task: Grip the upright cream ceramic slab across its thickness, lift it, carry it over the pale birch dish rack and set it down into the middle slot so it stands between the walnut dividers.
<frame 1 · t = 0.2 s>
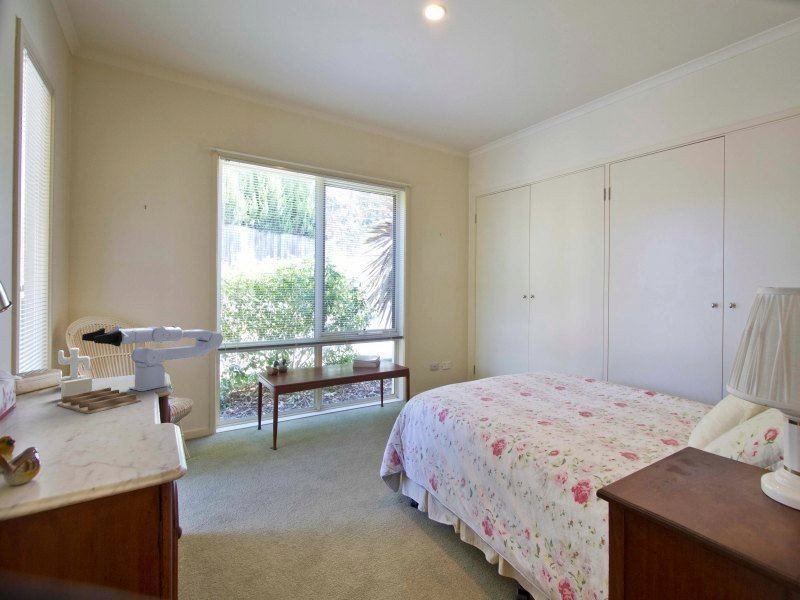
hand: (88, 338, 132), 21 cm above the dresser top, tool horizontal, fingers open, 7 cm apart
cream slab: (76, 396, 137), on the dresser top
figurine: (74, 387, 148), on the dresser top
dish rack: (100, 402, 130), on the dresser top
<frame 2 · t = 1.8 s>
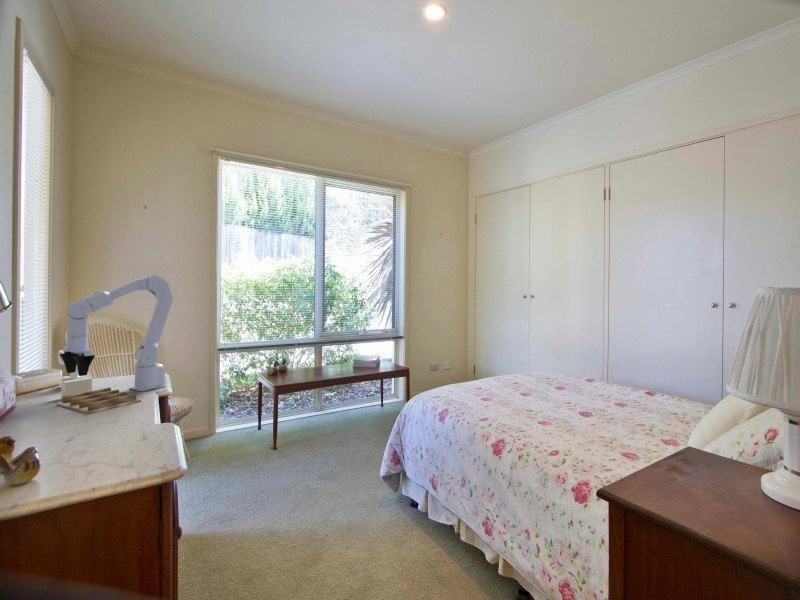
hand: (76, 374, 136), 8 cm above the dresser top, tool pointing down, fingers open, 7 cm apart
nothing on the dresser top moved.
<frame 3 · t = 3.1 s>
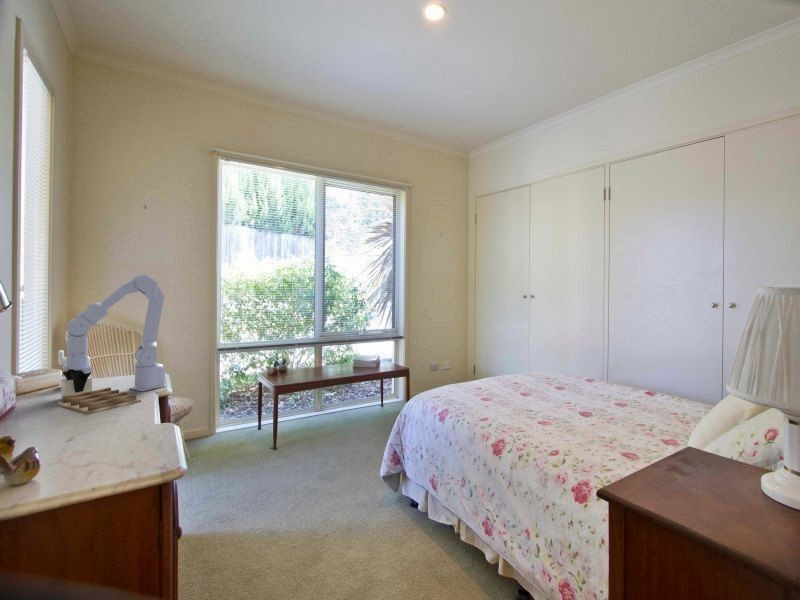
hand: (76, 391, 136), 2 cm above the dresser top, tool pointing down, fingers closed on cream slab, 2 cm apart
cream slab: (76, 396, 137), on the dresser top, touching gripper
everything else where it was.
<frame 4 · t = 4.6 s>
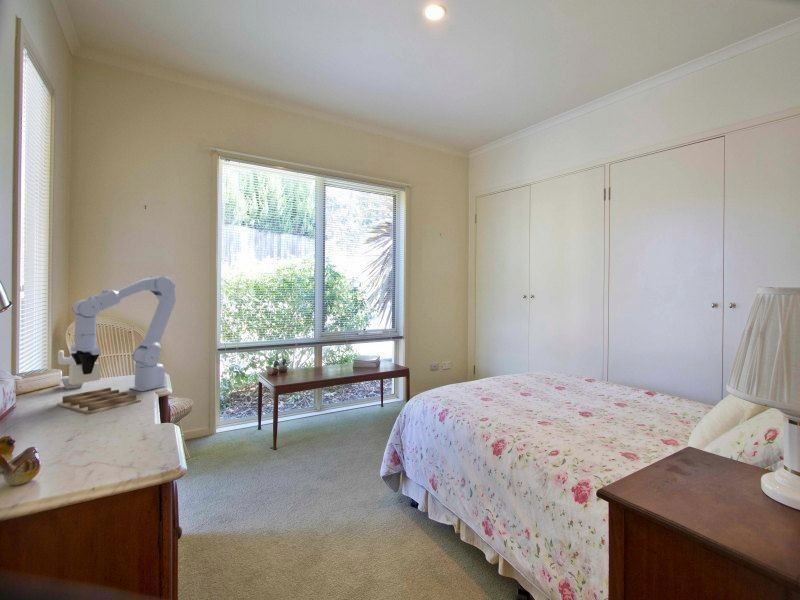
hand: (85, 373, 134), 9 cm above the dresser top, tool pointing down, fingers closed on cream slab, 2 cm apart
cream slab: (84, 381, 134), point 6 cm above the dresser top, touching gripper
everything else where it was.
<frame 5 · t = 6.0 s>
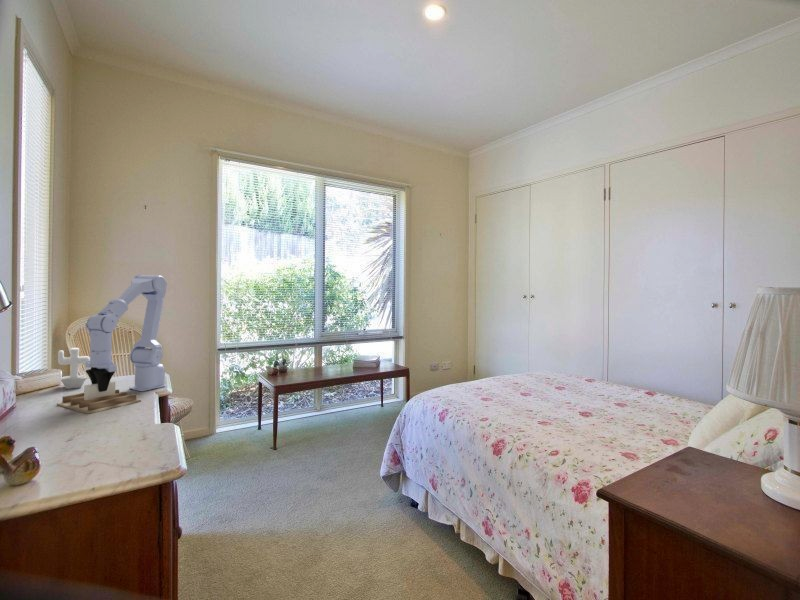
hand: (100, 390, 130), 4 cm above the dresser top, tool pointing down, fingers closed on cream slab, 2 cm apart
cream slab: (99, 401, 130), point 1 cm above the dresser top, touching dish rack, gripper
everything else where it was.
when the fingers open (4 cm above the dresser top, at t = 6.4 s): cream slab stays where it is, resting on dish rack.
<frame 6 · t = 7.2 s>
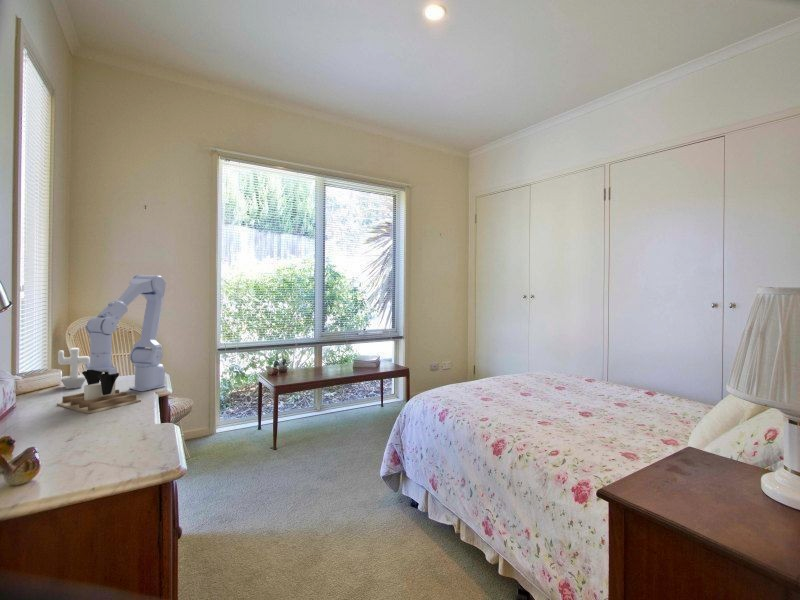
hand: (100, 392, 130), 4 cm above the dresser top, tool pointing down, fingers open, 7 cm apart
cream slab: (99, 401, 130), point 1 cm above the dresser top, touching dish rack
everything else where it was.
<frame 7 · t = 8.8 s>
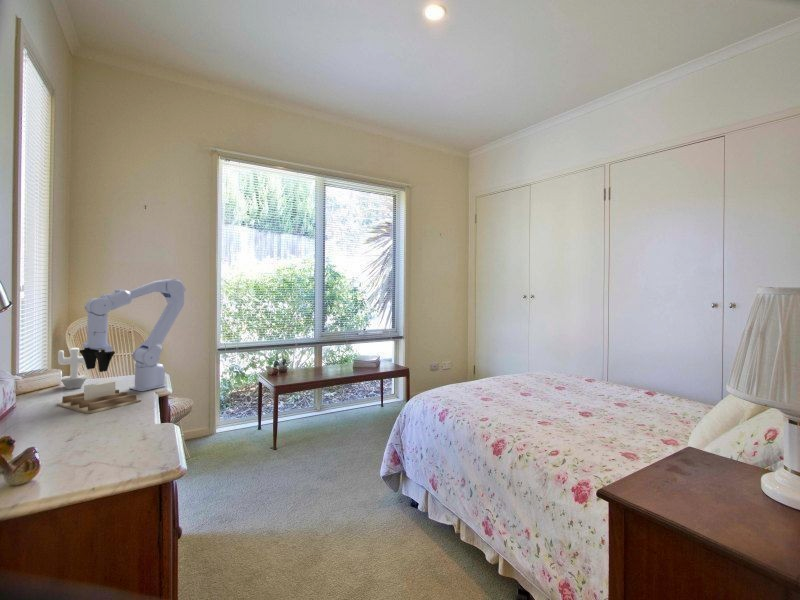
hand: (96, 370, 137), 9 cm above the dresser top, tool pointing down, fingers open, 7 cm apart
nothing on the dresser top moved.
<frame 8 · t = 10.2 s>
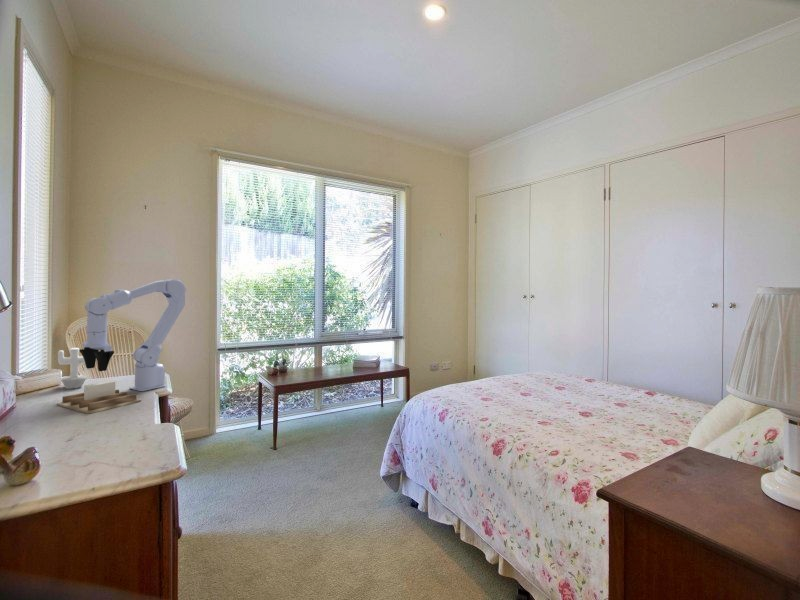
hand: (96, 369, 138), 9 cm above the dresser top, tool pointing down, fingers open, 7 cm apart
nothing on the dresser top moved.
at the end: cream slab 0.1 cm off-centre on the dish rack, point 0.6 cm above the dish rack's base; cream slab tilted 0°; the gripper is holding nothing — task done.
